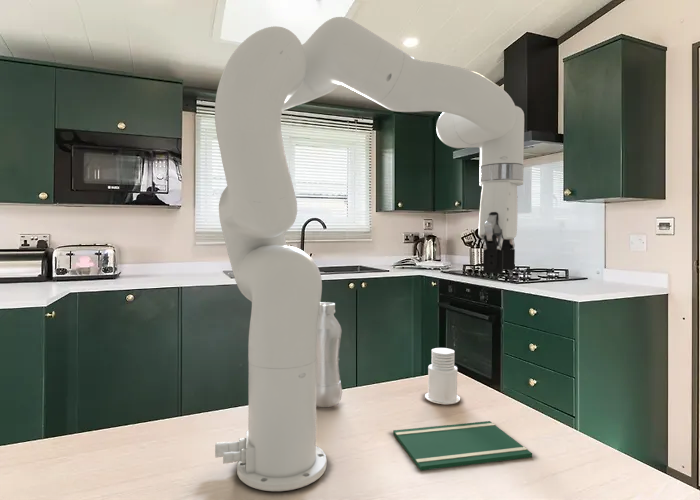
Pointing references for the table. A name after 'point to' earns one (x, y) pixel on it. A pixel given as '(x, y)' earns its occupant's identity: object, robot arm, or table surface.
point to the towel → (459, 445)
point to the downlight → (442, 377)
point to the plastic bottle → (328, 357)
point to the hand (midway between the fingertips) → (499, 271)
